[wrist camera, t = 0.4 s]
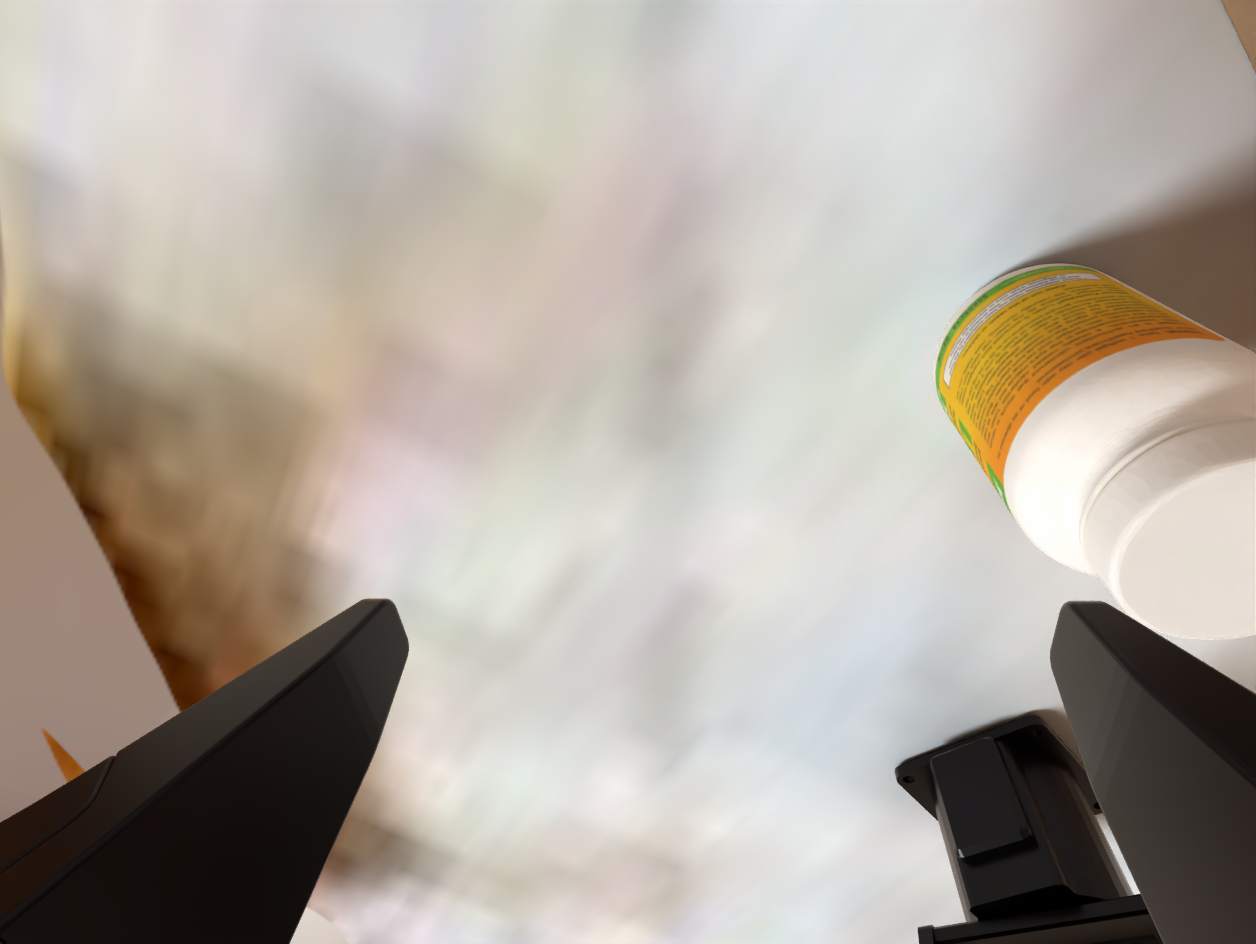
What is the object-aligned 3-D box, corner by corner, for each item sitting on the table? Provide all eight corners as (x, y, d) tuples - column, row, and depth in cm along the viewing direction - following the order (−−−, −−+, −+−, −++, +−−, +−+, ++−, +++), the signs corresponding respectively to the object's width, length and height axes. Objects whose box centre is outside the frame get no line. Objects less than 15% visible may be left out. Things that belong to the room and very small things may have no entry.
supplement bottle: (891, 389, 21) (998, 600, 12) (1013, 224, 18) (1259, 352, 9) (1037, 461, 21) (1235, 709, 13) (1178, 312, 18) (1546, 506, 10)
